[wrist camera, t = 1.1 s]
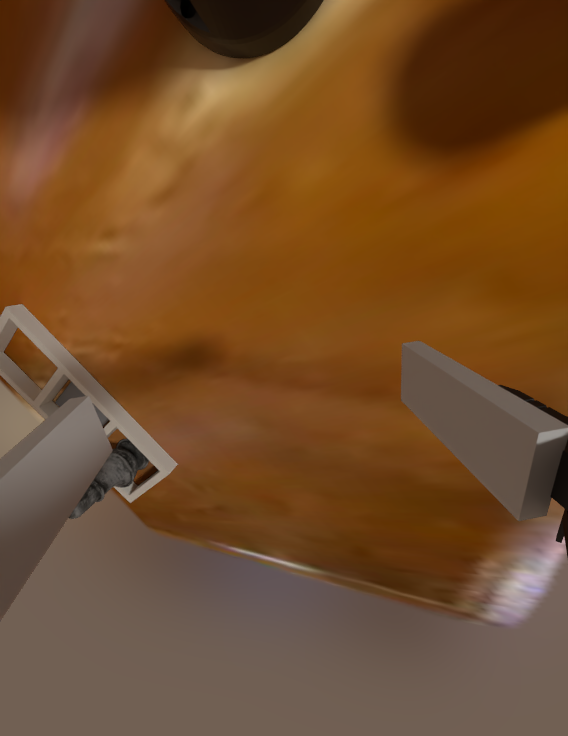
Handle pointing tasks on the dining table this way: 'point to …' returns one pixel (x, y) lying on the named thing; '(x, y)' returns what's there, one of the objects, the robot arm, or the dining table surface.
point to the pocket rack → (75, 392)
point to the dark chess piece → (112, 475)
